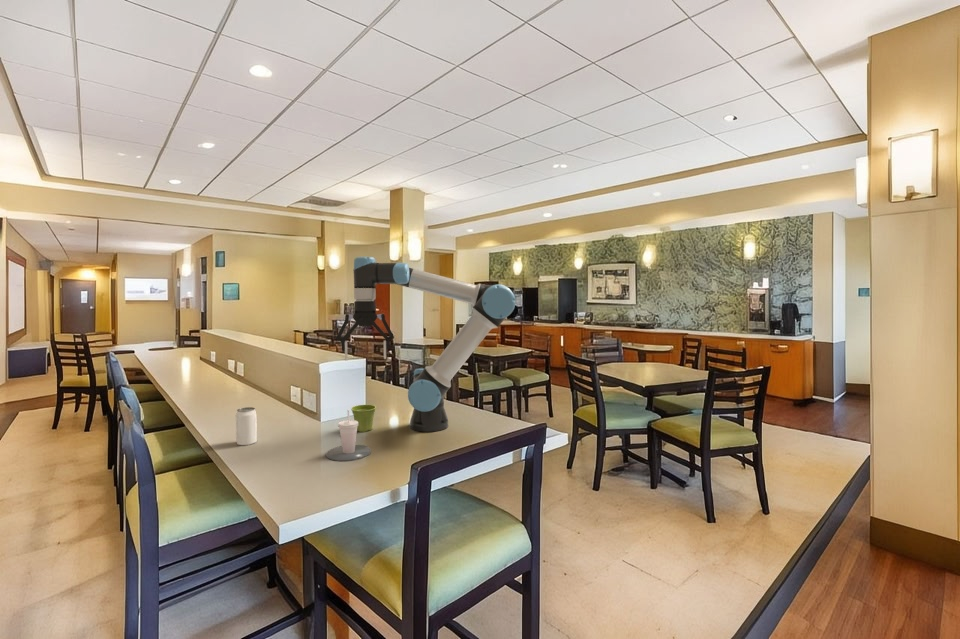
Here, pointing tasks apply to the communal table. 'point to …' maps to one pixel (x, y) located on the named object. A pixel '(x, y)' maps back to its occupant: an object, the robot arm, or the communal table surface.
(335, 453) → the disc
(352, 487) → the communal table surface
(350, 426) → the smoothie
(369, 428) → the plant pot
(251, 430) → the can
